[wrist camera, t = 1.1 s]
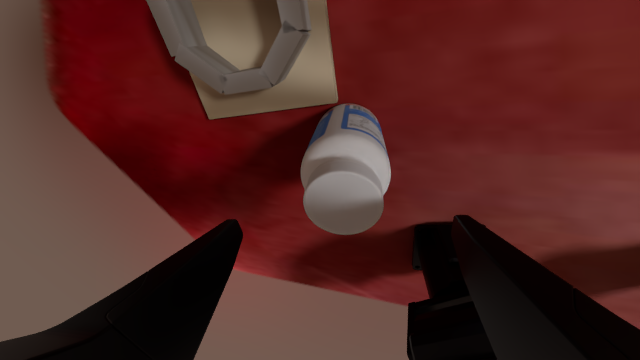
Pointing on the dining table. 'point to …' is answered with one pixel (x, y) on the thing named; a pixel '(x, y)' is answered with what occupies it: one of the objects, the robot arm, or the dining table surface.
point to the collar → (251, 52)
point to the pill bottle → (345, 171)
